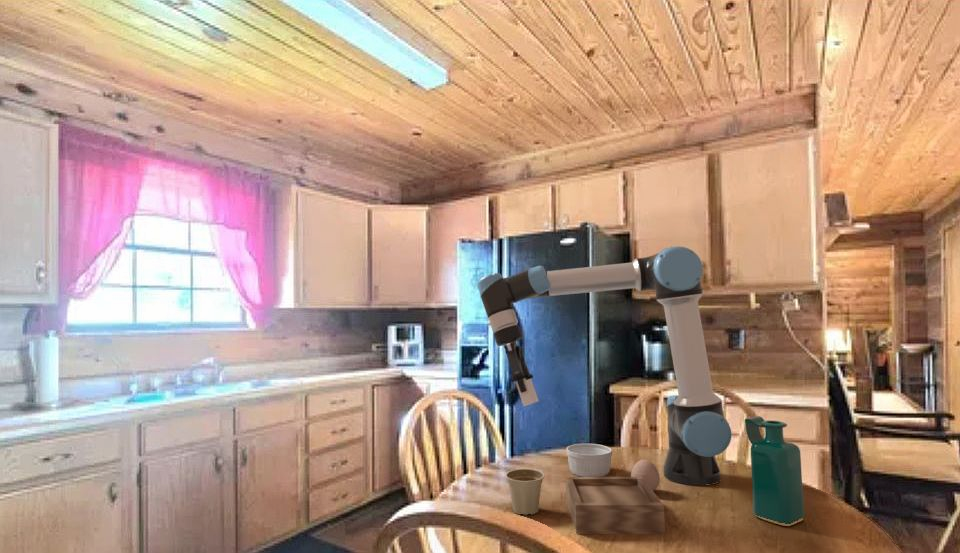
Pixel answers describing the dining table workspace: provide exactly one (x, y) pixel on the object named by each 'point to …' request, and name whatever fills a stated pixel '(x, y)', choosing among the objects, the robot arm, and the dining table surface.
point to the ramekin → (589, 460)
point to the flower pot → (525, 490)
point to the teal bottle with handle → (775, 472)
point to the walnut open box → (614, 506)
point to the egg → (646, 473)
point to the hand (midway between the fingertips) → (531, 403)
